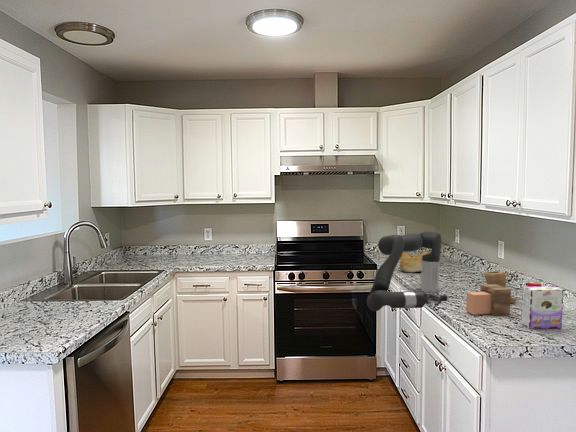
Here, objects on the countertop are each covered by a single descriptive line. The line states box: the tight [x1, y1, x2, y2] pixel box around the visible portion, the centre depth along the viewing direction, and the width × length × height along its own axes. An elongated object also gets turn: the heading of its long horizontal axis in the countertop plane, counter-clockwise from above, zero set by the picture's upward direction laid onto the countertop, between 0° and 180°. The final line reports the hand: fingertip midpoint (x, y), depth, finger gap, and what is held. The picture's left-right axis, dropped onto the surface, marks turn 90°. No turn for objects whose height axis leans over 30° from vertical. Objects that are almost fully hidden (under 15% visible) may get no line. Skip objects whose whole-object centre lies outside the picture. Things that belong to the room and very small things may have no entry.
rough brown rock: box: [399, 250, 432, 273], centre depth 274 cm, size 23×17×15 cm
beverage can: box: [526, 280, 543, 287], centre depth 193 cm, size 6×6×12 cm
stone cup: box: [484, 270, 518, 304], centre depth 204 cm, size 15×12×15 cm
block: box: [465, 291, 492, 316], centre depth 182 cm, size 5×16×9 cm, turn 101°
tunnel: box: [479, 283, 512, 317], centre depth 183 cm, size 10×8×12 cm
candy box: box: [520, 286, 564, 329], centre depth 164 cm, size 14×6×16 cm, turn 92°
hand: (446, 298), depth 177 cm, fingers closed
